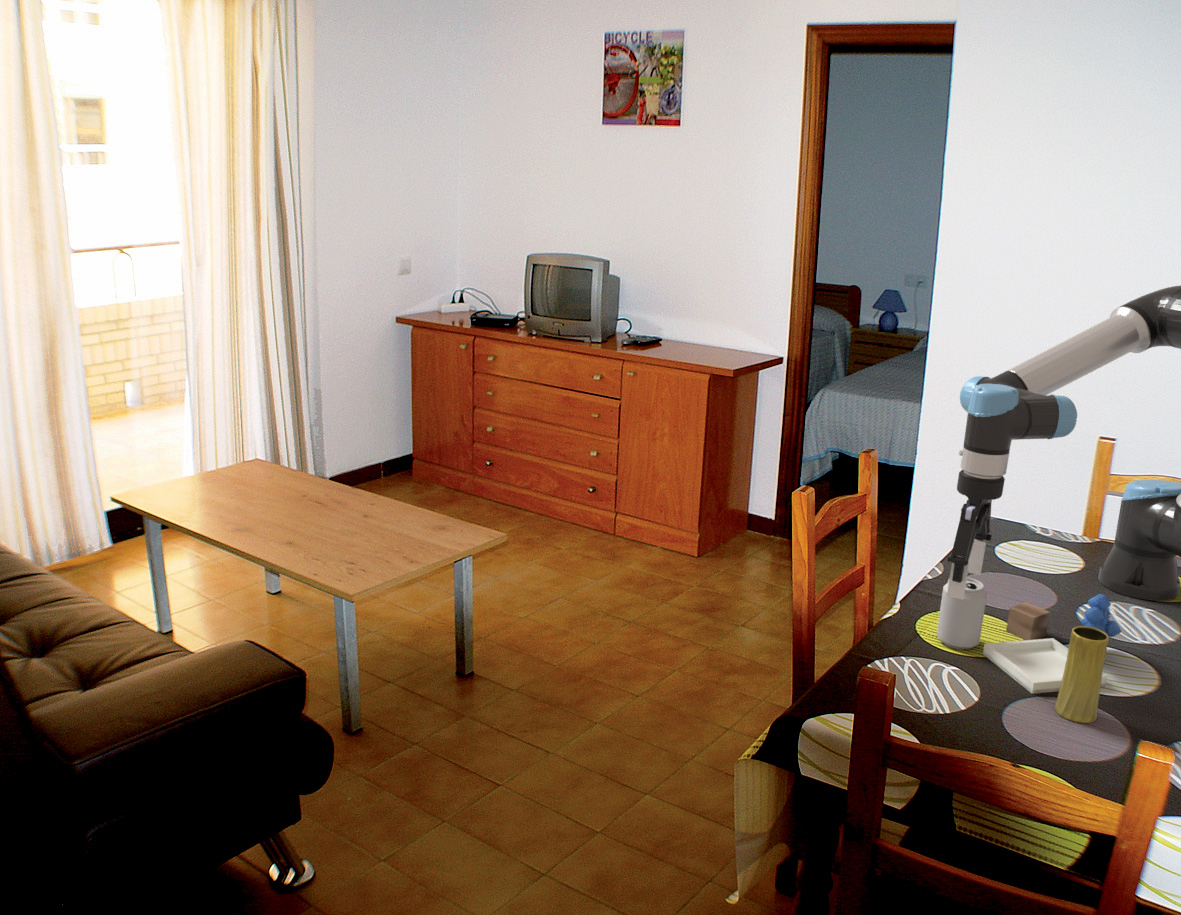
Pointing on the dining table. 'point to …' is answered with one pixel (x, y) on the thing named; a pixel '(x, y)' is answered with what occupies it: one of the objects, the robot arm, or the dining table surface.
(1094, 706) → the vase
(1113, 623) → the grapes
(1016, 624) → the walnut block
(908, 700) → the dining table surface
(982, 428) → the robot arm
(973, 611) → the can
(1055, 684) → the tray
